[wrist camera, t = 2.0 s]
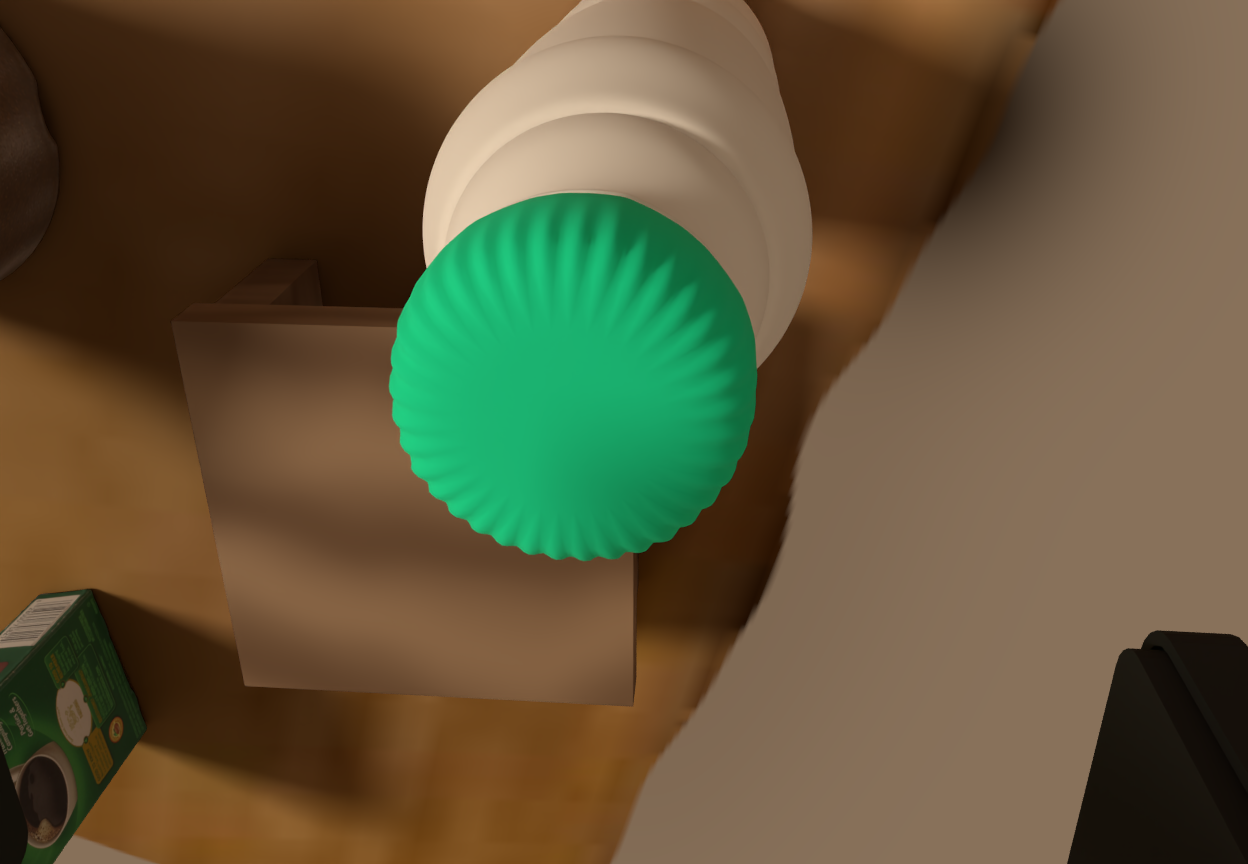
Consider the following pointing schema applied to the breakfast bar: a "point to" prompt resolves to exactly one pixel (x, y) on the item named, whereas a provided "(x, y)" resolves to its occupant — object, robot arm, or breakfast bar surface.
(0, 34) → the plant pot
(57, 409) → the breakfast bar surface
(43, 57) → the breakfast bar surface
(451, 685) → the small square stand
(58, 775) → the coffee box
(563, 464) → the water bottle
